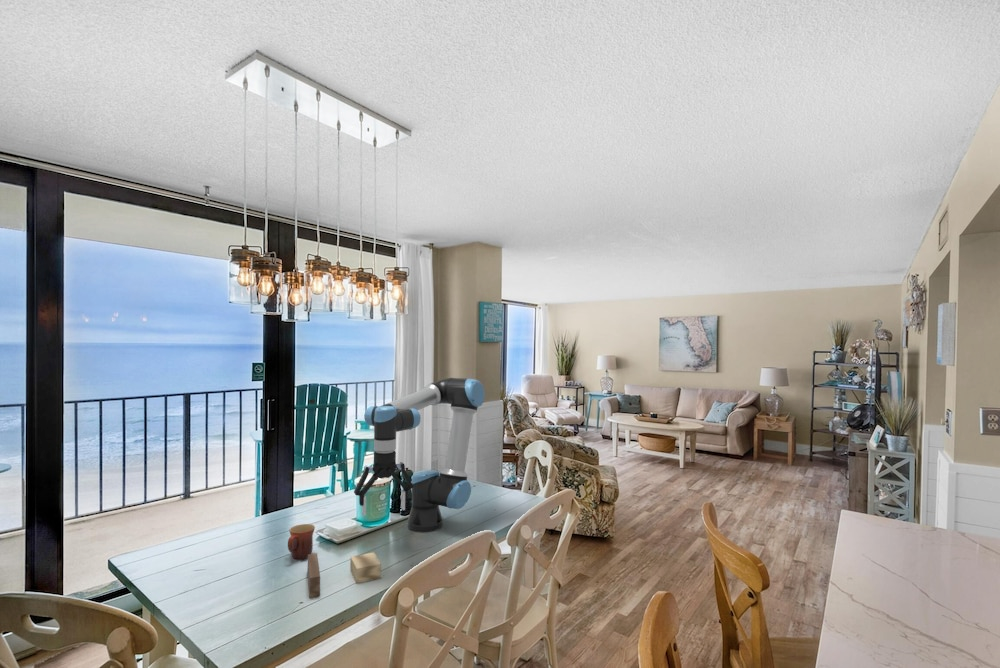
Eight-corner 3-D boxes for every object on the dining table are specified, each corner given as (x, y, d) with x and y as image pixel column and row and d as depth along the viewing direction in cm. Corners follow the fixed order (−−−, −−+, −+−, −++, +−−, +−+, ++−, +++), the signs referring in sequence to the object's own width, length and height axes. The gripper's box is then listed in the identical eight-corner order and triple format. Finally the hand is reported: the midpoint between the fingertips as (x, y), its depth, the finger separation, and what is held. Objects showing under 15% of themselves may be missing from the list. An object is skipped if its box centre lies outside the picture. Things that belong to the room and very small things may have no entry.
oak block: (373, 566, 170) (373, 552, 170) (380, 578, 161) (380, 563, 161) (350, 571, 166) (350, 556, 166) (356, 584, 157) (356, 568, 157)
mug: (298, 550, 182) (298, 523, 182) (319, 552, 180) (319, 525, 180) (277, 564, 170) (278, 535, 170) (299, 567, 168) (300, 537, 169)
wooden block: (316, 570, 166) (317, 553, 166) (319, 595, 149) (320, 576, 149) (307, 572, 165) (307, 554, 165) (309, 597, 148) (309, 578, 148)
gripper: (416, 445, 178) (415, 503, 177) (346, 451, 167) (345, 513, 166) (422, 450, 171) (421, 510, 171) (349, 456, 160) (348, 520, 160)
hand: (383, 511), depth 169 cm, fingers open, 13 cm apart
